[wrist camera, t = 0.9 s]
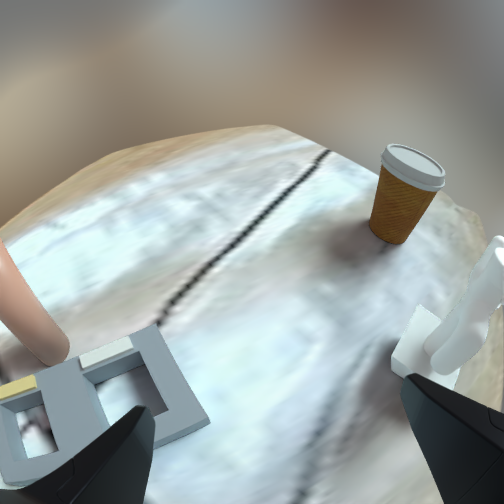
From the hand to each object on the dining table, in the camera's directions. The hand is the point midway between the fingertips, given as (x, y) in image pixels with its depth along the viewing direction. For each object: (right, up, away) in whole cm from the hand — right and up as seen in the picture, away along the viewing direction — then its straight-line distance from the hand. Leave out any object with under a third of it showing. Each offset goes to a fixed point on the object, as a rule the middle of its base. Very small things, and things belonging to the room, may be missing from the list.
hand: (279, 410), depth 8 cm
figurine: (+15, -6, +15) cm, 22 cm away
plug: (-20, -4, +13) cm, 24 cm away
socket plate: (-15, -9, +9) cm, 19 cm away
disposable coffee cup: (+19, +8, +30) cm, 37 cm away
